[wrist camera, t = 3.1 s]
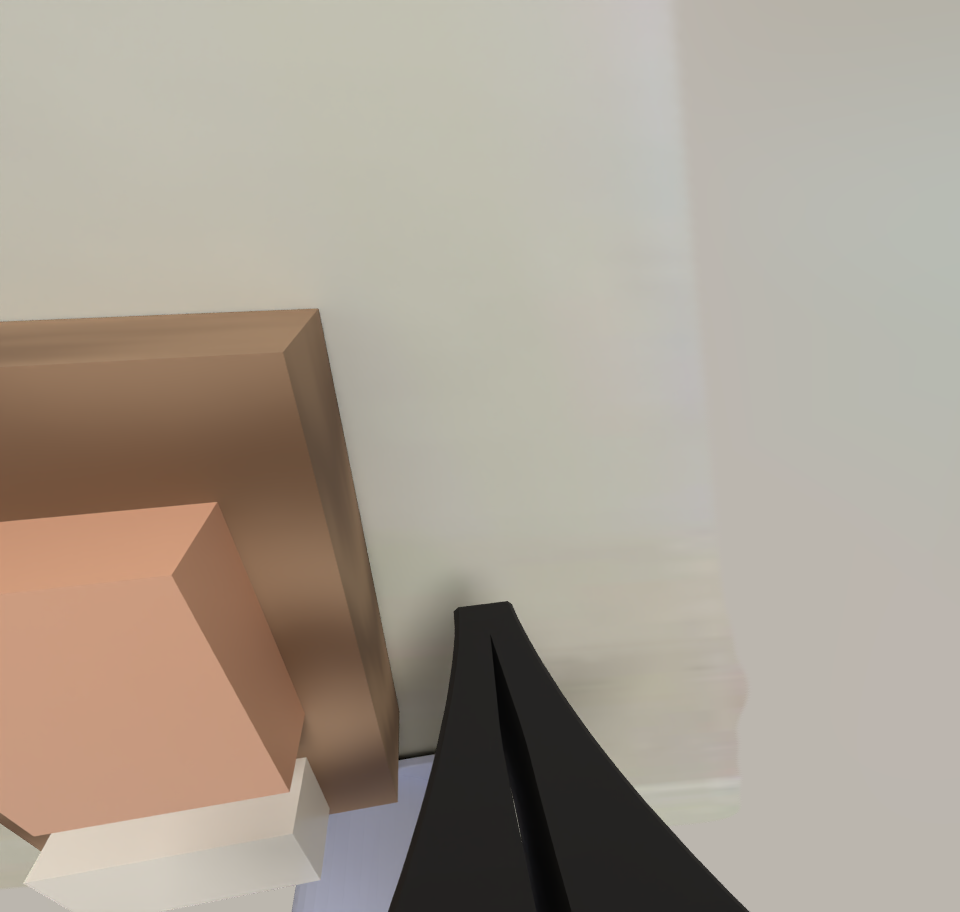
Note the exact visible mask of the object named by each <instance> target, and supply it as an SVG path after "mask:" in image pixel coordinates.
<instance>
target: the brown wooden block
mask: <svg viewBox="0 0 960 912" xmlns="http://www.w3.org/2000/svg"><path fill="white" fill-rule="evenodd" d="M212 502H218V505H219V507H220V509H221V512H222V514H223V517H224V519H225V522H226V524H227V526H228V529H229V531H230V534H231V536H232V538H233V541H234V543H235V546H236V548H237V551H238V553H239V555H240V558H241V560H242V563H243V565H244V567H245V570H246V572H247V575H248V577H249V580H250V582H251V584H252V587H253V589H254V592H255V594H256V596H257V599H258V601H259V604H260V606H261V609H262V611H263V613H264V616H265V618H266V621H267V623H268V625H269V628H270V630H271V633H272V635H273V638H274V640H275V642H276V645H277V647H278V650H279V652H280V654H281V657H282V659H283V662H284V664H285V667H286V669H287V671H288V674H289V676H290V679H291V681H292V683H293V686H294V688H295V691H296V693H297V696H298V698H299V700H300V703H301V705H302V708H303V710H304V712H305V717H304V722H303V727H302V732H301V737H300V742H299V747H298V752H297V757H296V759H298V758H304V757H306V758H307V760H308V762H309V764H310V766H311V769H312V771H313V773H314V775H315V777H316V780H317V782H318V784H319V786H320V788H321V791H322V793H323V795H324V797H325V799H326V801H327V804H328V806H329V808H330V810H329V815H330V814H336V813H341V812H347V811H352V810H358V809H363V808H369V807H374V806H380V805H385V804H391V803H396V802H398V755H399V708H398V703H397V698H396V693H395V688H394V683H393V678H392V673H391V668H390V663H389V658H388V653H387V648H386V643H385V638H384V633H383V628H382V623H381V618H380V613H379V608H378V603H377V598H376V593H375V588H374V583H373V578H372V573H371V568H370V563H369V558H368V554H367V549H366V544H365V539H364V534H363V529H362V524H361V519H360V514H359V509H358V504H357V499H356V494H355V489H354V484H353V479H352V474H351V469H350V464H349V459H348V454H347V449H346V444H345V439H344V434H343V429H342V424H341V419H340V414H339V409H338V404H337V399H336V394H335V389H334V384H333V379H332V374H331V369H330V364H329V359H328V354H327V349H326V344H325V339H324V334H323V329H322V324H321V319H320V314H319V309H297V310H273V311H249V312H225V313H201V314H177V315H153V316H129V317H105V318H81V319H56V320H32V321H8V322H0V522H5V521H16V520H27V519H38V518H49V517H60V516H70V515H81V514H92V513H103V512H114V511H125V510H136V509H146V508H157V507H168V506H179V505H190V504H201V503H212ZM0 823H1V824H2V825H4V826H5V827H6V828H8V829H9V830H11V831H12V832H14V833H15V834H17V835H18V836H20V837H21V838H23V839H24V840H26V841H27V842H28V843H30V844H31V845H33V846H34V847H36V848H37V849H39V850H40V851H42V849H43V847H44V846H45V844H46V842H47V840H48V838H49V837H50V835H51V834H46V835H40V836H32V835H31V834H30V833H28V832H27V831H25V830H24V829H23V828H21V827H20V826H18V825H17V824H15V823H14V822H13V821H11V820H10V819H8V818H7V817H6V816H4V815H3V814H1V813H0Z"/></svg>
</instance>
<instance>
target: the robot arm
mask: <svg viewBox="0 0 960 912" xmlns="http://www.w3.org/2000/svg"><path fill="white" fill-rule="evenodd" d="M454 622H455V639H454V651H453V661H452V669H451V676H450V682H449V688H448V695H447V701H446V706H445V711H444V716H443V720H442V725H441V730H440V734H439V739H438V744H437V748H436V752H435V754H432V755H426V756H421V757H415V758H409V759H403V760H398V802H396V803H391V804H385V805H380V806H374V807H369V808H363V809H358V810H352V811H347V812H341V813H336V814H330V815H329V818H328V826H327V834H326V842H325V850H324V858H323V866H322V874H321V880H319V881H314V882H309V883H304V884H299V885H296V889H295V895H294V901H293V907H292V912H749V911H748V910H747V909H746V908H745V907H744V906H743V905H742V904H741V903H740V902H739V901H738V900H737V899H736V898H735V897H734V896H733V895H732V894H731V893H730V892H729V891H728V890H727V889H726V888H725V887H724V886H723V885H722V884H721V883H720V882H719V881H718V880H717V879H716V878H715V877H714V875H713V874H711V872H709V870H708V869H707V868H706V867H705V866H704V865H703V864H702V863H701V862H700V861H699V860H698V859H697V858H696V857H695V856H694V855H693V854H692V853H691V852H690V850H689V849H688V848H687V847H686V846H685V845H684V844H683V843H682V842H681V841H680V839H679V838H678V837H677V836H676V835H675V834H674V833H673V832H672V831H671V829H670V828H669V827H668V826H667V825H666V824H665V823H664V822H663V820H662V819H661V818H660V817H659V816H658V815H657V814H656V813H655V812H654V811H653V809H652V808H651V807H650V806H649V805H648V804H647V803H646V802H645V800H644V799H643V798H642V797H641V796H640V795H639V793H638V792H637V791H636V790H635V789H634V787H633V786H632V785H631V784H630V783H629V781H628V780H627V779H626V778H625V777H624V775H623V774H622V773H621V772H620V771H619V769H618V768H617V767H616V766H615V764H614V763H613V762H612V761H611V759H610V758H609V757H608V755H607V754H606V753H605V752H604V750H603V749H602V748H601V747H600V745H599V744H598V743H597V741H596V740H595V739H594V737H593V736H592V735H591V733H590V732H589V731H588V729H587V728H586V727H585V725H584V724H583V722H582V721H581V720H580V718H579V717H578V715H577V714H576V712H575V711H574V710H573V708H572V707H571V705H570V704H569V703H568V701H567V700H566V698H565V697H564V695H563V694H562V692H561V691H560V689H559V688H558V686H557V684H556V683H555V681H554V680H553V678H552V677H551V675H550V673H549V672H548V670H547V669H546V667H545V666H544V664H543V662H542V661H541V659H540V657H539V656H538V654H537V652H536V651H535V649H534V647H533V645H532V644H531V642H530V640H529V638H528V636H527V635H526V633H525V631H524V629H523V627H522V625H521V623H520V621H519V619H518V617H517V615H516V613H515V611H514V608H513V606H512V604H511V603H509V602H508V601H505V602H497V603H490V604H482V605H474V606H466V607H458V608H457V609H456V610H455V611H454ZM510 787H511V788H510ZM511 791H512V793H511ZM512 796H513V798H512ZM513 800H514V803H513ZM514 804H515V808H514ZM515 809H516V812H515ZM516 814H517V817H516ZM517 819H518V822H517ZM518 824H519V827H518ZM519 829H520V832H519ZM520 835H521V837H520Z"/></svg>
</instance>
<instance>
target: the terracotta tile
mask: <svg viewBox="0 0 960 912" xmlns="http://www.w3.org/2000/svg"><path fill="white" fill-rule="evenodd" d="M304 717H305V712H304V710H303V708H302V705H301V703H300V700H299V698H298V696H297V693H296V691H295V688H294V686H293V683H292V681H291V679H290V676H289V674H288V671H287V669H286V667H285V664H284V662H283V659H282V657H281V654H280V652H279V650H278V647H277V645H276V642H275V640H274V638H273V635H272V633H271V630H270V628H269V625H268V623H267V621H266V618H265V616H264V613H263V611H262V609H261V606H260V604H259V601H258V599H257V596H256V594H255V592H254V589H253V587H252V584H251V582H250V580H249V577H248V575H247V572H246V570H245V567H244V565H243V563H242V560H241V558H240V555H239V553H238V551H237V548H236V546H235V543H234V541H233V538H232V536H231V534H230V531H229V529H228V526H227V524H226V522H225V519H224V517H223V514H222V512H221V509H220V507H219V505H218V502H212V503H201V504H190V505H179V506H168V507H157V508H146V509H136V510H125V511H114V512H103V513H92V514H81V515H70V516H60V517H49V518H38V519H27V520H16V521H5V522H0V813H1V814H3V815H4V816H6V817H7V818H8V819H10V820H11V821H13V822H14V823H15V824H17V825H18V826H20V827H21V828H23V829H24V830H25V831H27V832H28V833H30V834H31V835H32V836H40V835H46V834H51V833H57V832H63V831H69V830H74V829H80V828H86V827H92V826H98V825H103V824H109V823H115V822H121V821H126V820H132V819H138V818H144V817H150V816H155V815H161V814H167V813H173V812H178V811H184V810H190V809H196V808H202V807H207V806H213V805H219V804H225V803H230V802H236V801H242V800H248V799H253V798H259V797H265V796H271V795H277V794H282V793H288V792H290V788H291V783H292V778H293V773H294V768H295V763H296V757H297V752H298V747H299V742H300V737H301V732H302V727H303V722H304Z"/></svg>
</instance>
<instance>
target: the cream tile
mask: <svg viewBox="0 0 960 912" xmlns="http://www.w3.org/2000/svg"><path fill="white" fill-rule="evenodd" d="M329 810H330V808H329V806H328V804H327V801H326V799H325V797H324V795H323V793H322V791H321V788H320V786H319V784H318V782H317V780H316V777H315V775H314V773H313V771H312V769H311V766H310V764H309V762H308V760H307V758H306V757H304V758H298V759H296V763H295V768H294V773H293V778H292V783H291V788H290V792H288V793H282V794H277V795H271V796H265V797H259V798H253V799H248V800H242V801H236V802H230V803H225V804H219V805H213V806H207V807H202V808H196V809H190V810H184V811H178V812H173V813H167V814H161V815H155V816H150V817H144V818H138V819H132V820H126V821H121V822H115V823H109V824H103V825H98V826H92V827H86V828H80V829H74V830H69V831H63V832H57V833H51V835H50V837H49V838H48V840H47V842H46V844H45V846H44V847H43V849H42V851H41V853H40V854H39V856H38V858H37V860H36V862H35V863H34V865H33V867H32V869H31V871H30V872H29V874H28V876H27V878H26V879H25V881H24V884H25V885H27V886H29V887H31V888H32V889H34V890H36V891H37V892H39V893H41V894H42V895H44V896H46V897H47V898H49V899H51V900H53V901H54V902H56V903H58V904H59V905H61V906H63V907H64V908H66V909H68V910H70V911H71V912H162V911H168V910H173V909H178V908H183V907H188V906H193V905H198V904H203V903H208V902H213V901H218V900H223V899H228V898H233V897H238V896H243V895H248V894H253V893H258V892H263V891H268V890H273V889H278V888H284V887H288V886H294V885H299V884H304V883H309V882H314V881H319V880H321V874H322V866H323V858H324V850H325V842H326V834H327V826H328V818H329Z"/></svg>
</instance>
